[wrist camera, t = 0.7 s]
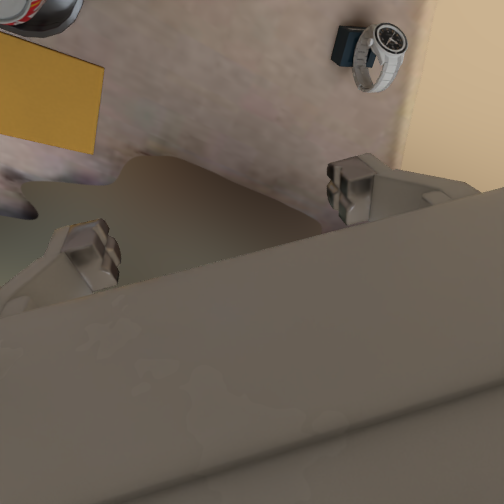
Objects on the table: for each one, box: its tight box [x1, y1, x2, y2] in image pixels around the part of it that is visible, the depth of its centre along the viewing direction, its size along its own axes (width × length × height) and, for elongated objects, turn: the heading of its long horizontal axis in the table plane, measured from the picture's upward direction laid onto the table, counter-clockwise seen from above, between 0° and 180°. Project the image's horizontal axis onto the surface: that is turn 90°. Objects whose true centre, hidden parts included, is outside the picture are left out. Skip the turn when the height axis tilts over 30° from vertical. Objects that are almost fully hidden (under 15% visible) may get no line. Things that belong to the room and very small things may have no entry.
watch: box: [331, 23, 408, 92], centre depth 44 cm, size 6×8×11 cm
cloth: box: [0, 32, 104, 155], centre depth 42 cm, size 13×17×1 cm
